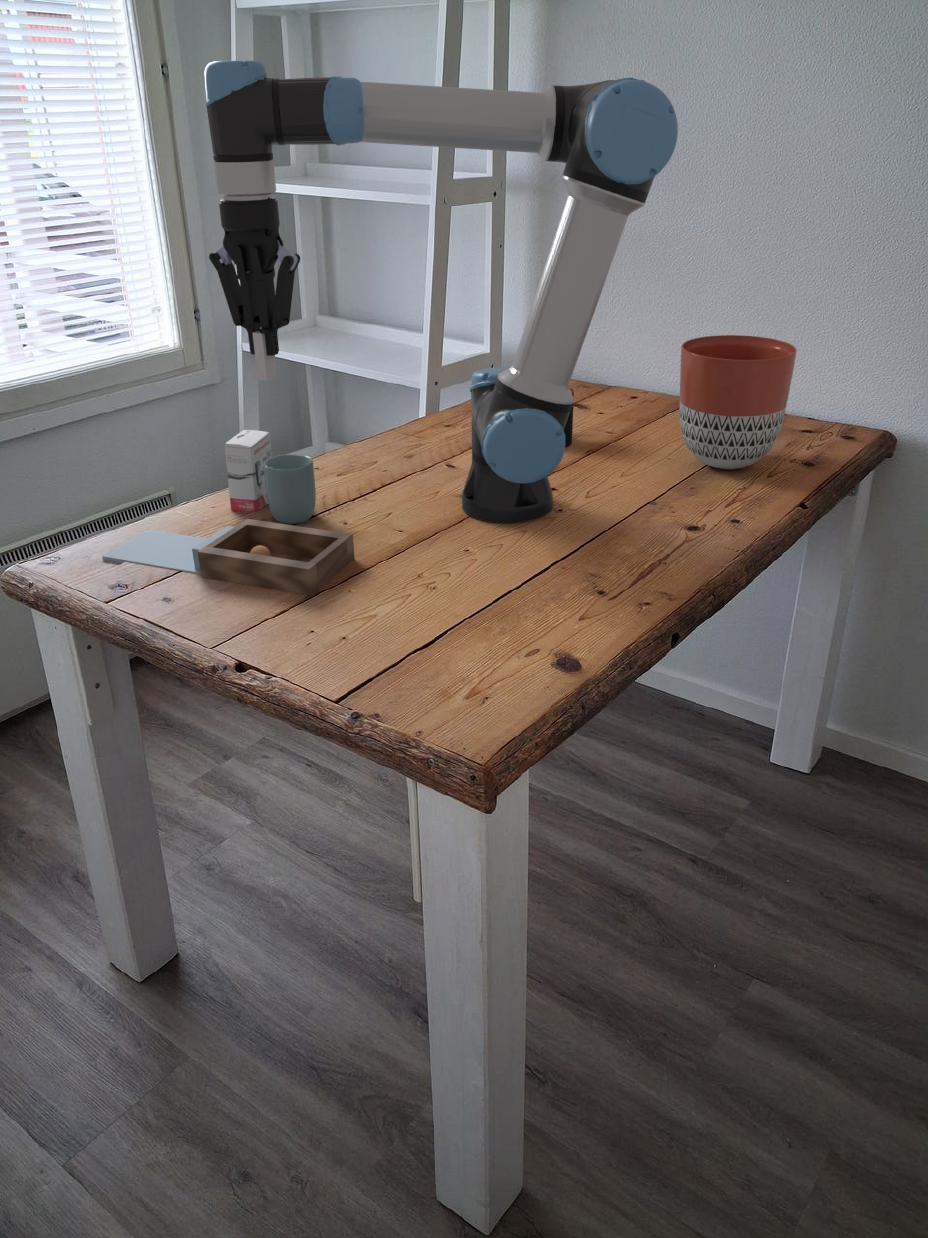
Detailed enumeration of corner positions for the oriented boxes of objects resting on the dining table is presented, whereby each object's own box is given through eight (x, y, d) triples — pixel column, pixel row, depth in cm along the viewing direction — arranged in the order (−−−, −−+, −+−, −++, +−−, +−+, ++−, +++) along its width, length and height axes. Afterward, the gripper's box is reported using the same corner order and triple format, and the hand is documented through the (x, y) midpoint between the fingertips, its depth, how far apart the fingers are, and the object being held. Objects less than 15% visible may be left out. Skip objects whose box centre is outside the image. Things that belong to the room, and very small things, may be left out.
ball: (275, 562, 148) (273, 543, 146) (264, 570, 145) (262, 551, 144) (258, 559, 149) (255, 541, 147) (247, 567, 146) (244, 548, 145)
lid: (245, 551, 154) (242, 525, 152) (203, 580, 145) (199, 553, 143) (149, 536, 160) (144, 510, 158) (103, 563, 151) (98, 536, 149)
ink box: (259, 514, 166) (250, 445, 161) (230, 513, 167) (221, 444, 162) (277, 496, 174) (270, 429, 168) (250, 494, 175) (242, 428, 169)
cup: (326, 514, 166) (321, 456, 161) (304, 531, 159) (298, 471, 155) (284, 509, 168) (278, 452, 164) (261, 526, 162) (254, 467, 157)
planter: (661, 475, 180) (671, 355, 170) (683, 443, 195) (692, 332, 186) (773, 488, 173) (790, 363, 163) (786, 454, 189) (802, 338, 179)
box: (354, 561, 149) (352, 533, 147) (311, 598, 138) (308, 569, 136) (250, 545, 155) (247, 518, 153) (201, 580, 144) (197, 551, 142)
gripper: (306, 194, 131) (321, 375, 142) (221, 193, 135) (242, 368, 146) (276, 200, 125) (294, 388, 136) (188, 198, 129) (213, 380, 140)
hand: (267, 377), depth 141 cm, fingers closed
